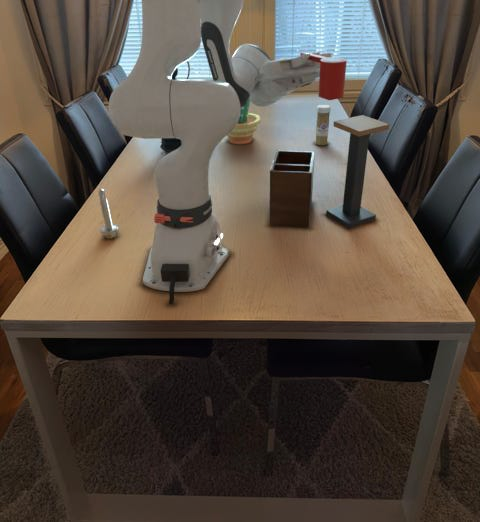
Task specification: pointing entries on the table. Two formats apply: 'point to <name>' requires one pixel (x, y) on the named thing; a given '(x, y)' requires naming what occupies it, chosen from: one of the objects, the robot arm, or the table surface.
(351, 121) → the stand
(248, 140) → the potted cactus
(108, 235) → the screw
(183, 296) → the table surface
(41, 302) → the table surface
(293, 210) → the caddy
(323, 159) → the table surface
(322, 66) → the cup
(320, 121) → the sprinkles bottle
